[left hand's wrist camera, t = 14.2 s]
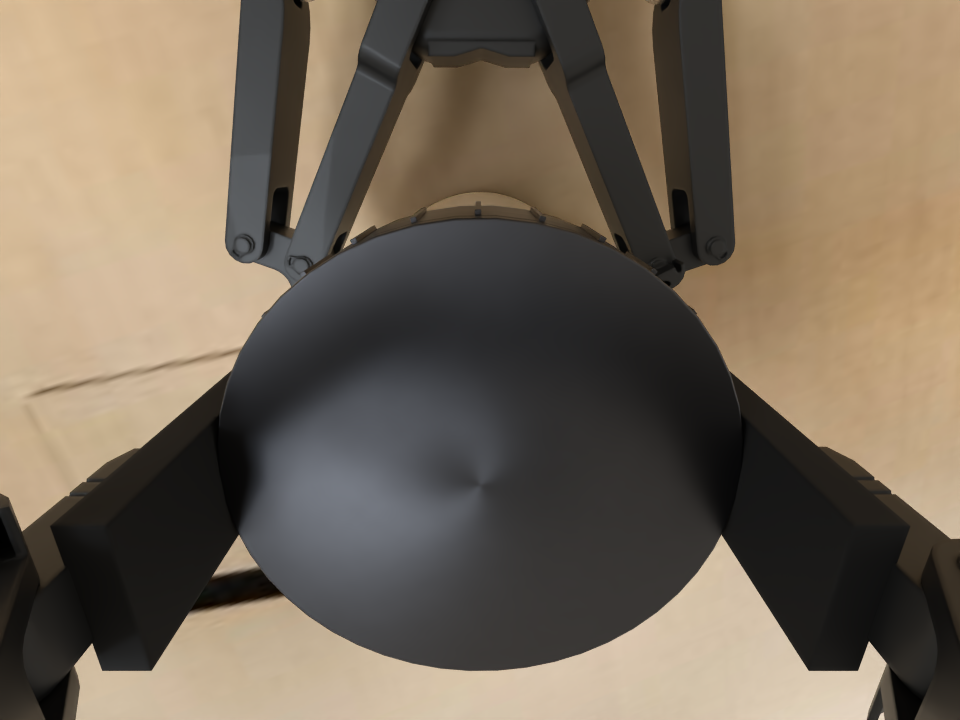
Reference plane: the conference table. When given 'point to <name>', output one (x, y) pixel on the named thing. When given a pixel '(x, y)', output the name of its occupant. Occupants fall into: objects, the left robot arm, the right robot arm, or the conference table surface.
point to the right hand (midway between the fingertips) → (479, 440)
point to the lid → (480, 440)
